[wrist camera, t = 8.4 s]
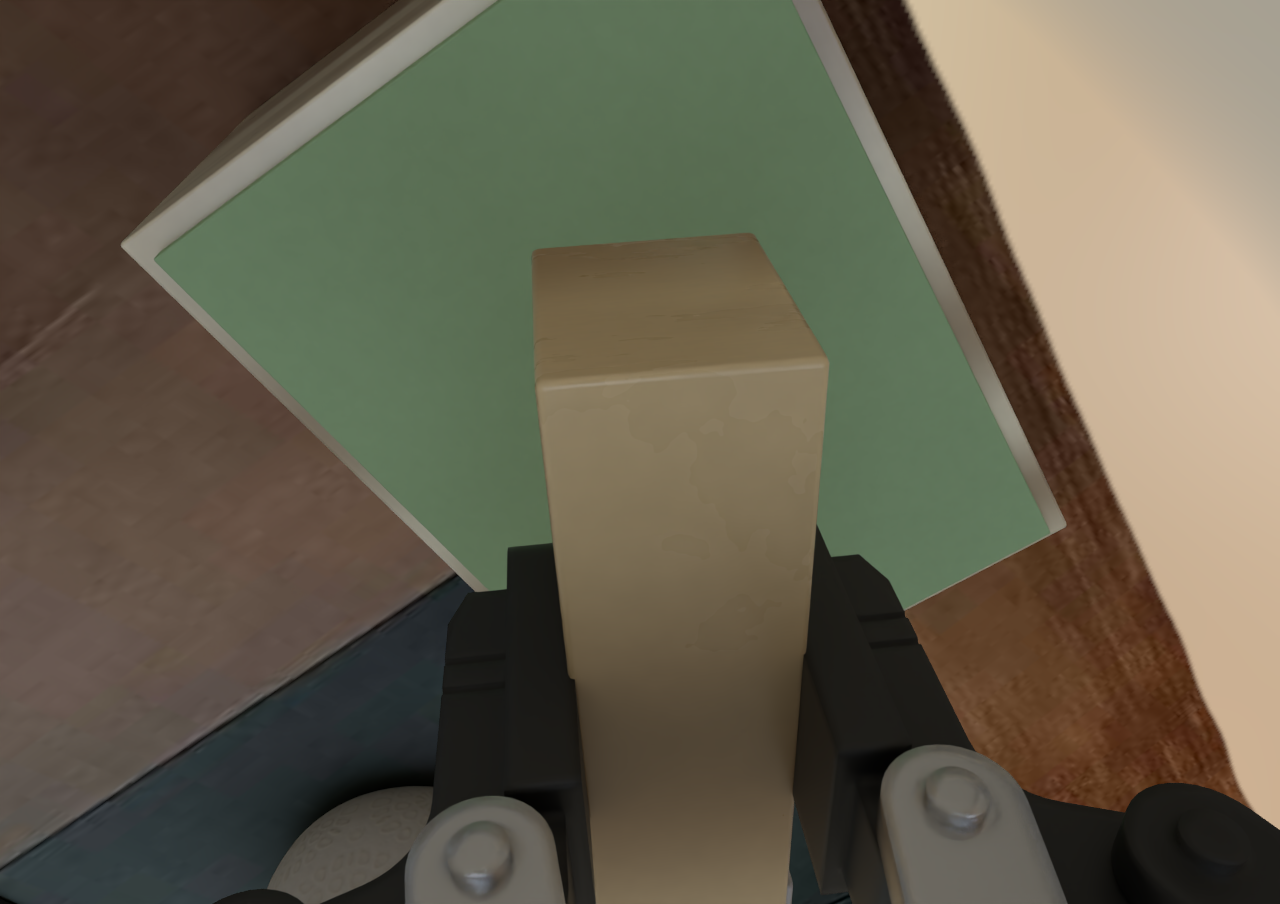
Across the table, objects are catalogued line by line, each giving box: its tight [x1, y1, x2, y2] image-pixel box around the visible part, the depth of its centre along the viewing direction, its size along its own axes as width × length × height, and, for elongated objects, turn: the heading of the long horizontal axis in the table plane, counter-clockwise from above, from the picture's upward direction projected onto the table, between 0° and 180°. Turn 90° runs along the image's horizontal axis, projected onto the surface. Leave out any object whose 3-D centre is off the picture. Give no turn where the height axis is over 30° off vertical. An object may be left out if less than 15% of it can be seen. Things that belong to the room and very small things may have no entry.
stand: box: [121, 0, 1066, 611], centre depth 25 cm, size 18×13×10 cm
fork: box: [531, 233, 829, 904], centre depth 13 cm, size 16×3×3 cm, turn 2°
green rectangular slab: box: [154, 0, 1050, 609], centre depth 20 cm, size 17×12×1 cm
